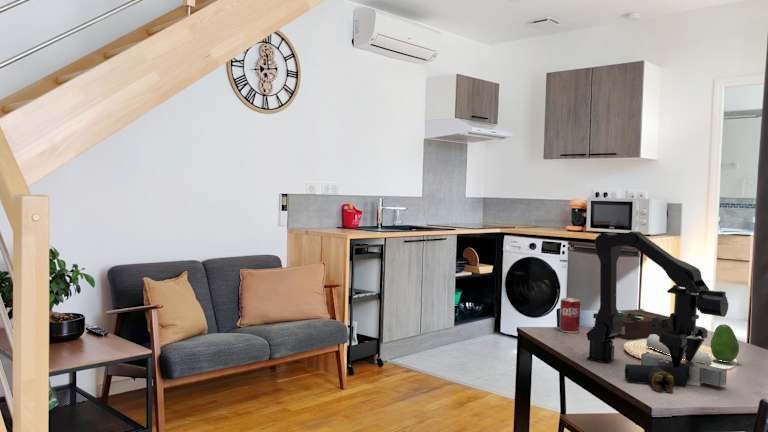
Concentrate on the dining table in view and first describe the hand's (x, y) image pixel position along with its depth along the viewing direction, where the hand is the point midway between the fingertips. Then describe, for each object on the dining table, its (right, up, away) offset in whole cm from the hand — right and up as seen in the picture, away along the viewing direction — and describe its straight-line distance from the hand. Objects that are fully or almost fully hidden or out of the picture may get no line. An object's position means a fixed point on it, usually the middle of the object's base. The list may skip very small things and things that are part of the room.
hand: (682, 365), depth 176 cm
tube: (+10, -4, +23) cm, 26 cm away
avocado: (+23, -4, +20) cm, 31 cm away
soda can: (-15, -1, +58) cm, 60 cm away
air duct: (0, -3, 0) cm, 3 cm away
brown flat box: (+10, -3, +59) cm, 60 cm away
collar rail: (0, -4, 0) cm, 4 cm away
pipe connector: (-10, -5, -7) cm, 13 cm away
